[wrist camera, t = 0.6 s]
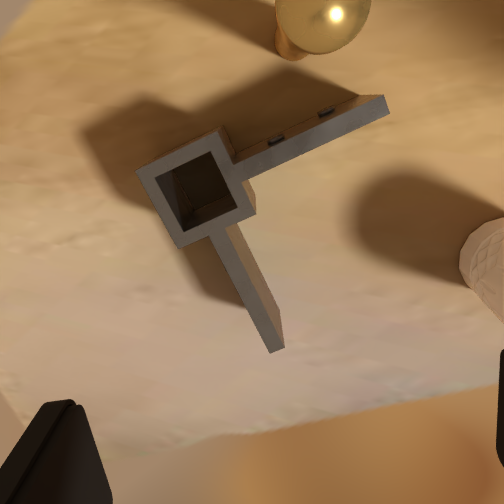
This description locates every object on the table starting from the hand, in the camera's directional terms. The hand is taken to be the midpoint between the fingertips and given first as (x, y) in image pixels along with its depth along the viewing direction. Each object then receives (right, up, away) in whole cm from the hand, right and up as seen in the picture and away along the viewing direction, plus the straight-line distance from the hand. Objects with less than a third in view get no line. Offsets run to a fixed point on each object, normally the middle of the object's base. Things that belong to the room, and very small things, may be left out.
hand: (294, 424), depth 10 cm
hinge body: (+2, +7, +25) cm, 26 cm away
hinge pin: (+2, +19, +21) cm, 28 cm away
